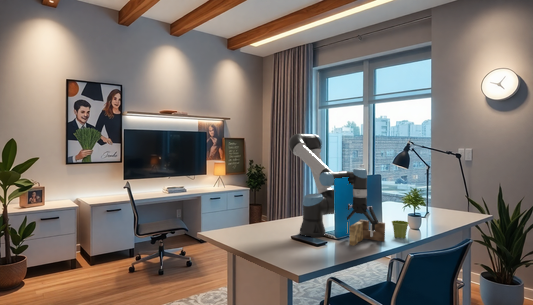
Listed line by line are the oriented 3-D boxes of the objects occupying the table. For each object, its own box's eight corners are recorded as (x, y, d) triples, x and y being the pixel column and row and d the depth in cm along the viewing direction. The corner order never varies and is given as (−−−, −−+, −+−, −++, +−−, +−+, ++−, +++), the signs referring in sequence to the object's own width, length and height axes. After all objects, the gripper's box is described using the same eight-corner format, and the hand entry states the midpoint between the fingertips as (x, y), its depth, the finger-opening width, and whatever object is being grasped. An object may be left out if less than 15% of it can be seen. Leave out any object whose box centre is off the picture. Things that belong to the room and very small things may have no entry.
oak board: (354, 245, 188) (354, 226, 187) (349, 244, 189) (349, 226, 189) (362, 239, 199) (363, 221, 199) (358, 238, 201) (358, 221, 200)
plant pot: (397, 239, 200) (397, 224, 200) (388, 235, 209) (388, 220, 209) (411, 238, 202) (412, 223, 202) (402, 234, 211) (402, 220, 211)
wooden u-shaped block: (358, 237, 204) (359, 220, 203) (360, 236, 205) (360, 219, 205) (383, 241, 196) (384, 223, 196) (384, 240, 198) (385, 222, 197)
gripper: (336, 195, 201) (335, 232, 202) (380, 199, 187) (380, 239, 188) (341, 193, 207) (340, 230, 208) (384, 197, 193) (384, 236, 194)
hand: (359, 234), depth 198 cm, fingers open, 13 cm apart
